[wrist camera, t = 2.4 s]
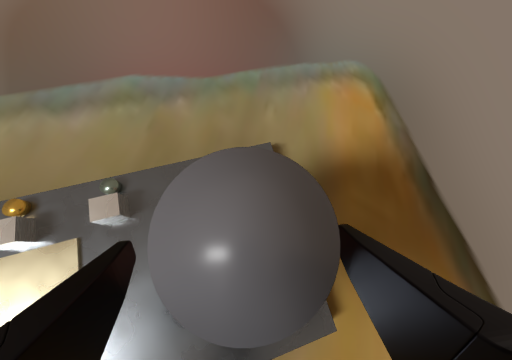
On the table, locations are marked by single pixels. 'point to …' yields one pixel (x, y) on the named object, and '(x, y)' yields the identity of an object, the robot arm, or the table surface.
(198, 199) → the post
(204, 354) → the breaker panel
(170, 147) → the table surface
